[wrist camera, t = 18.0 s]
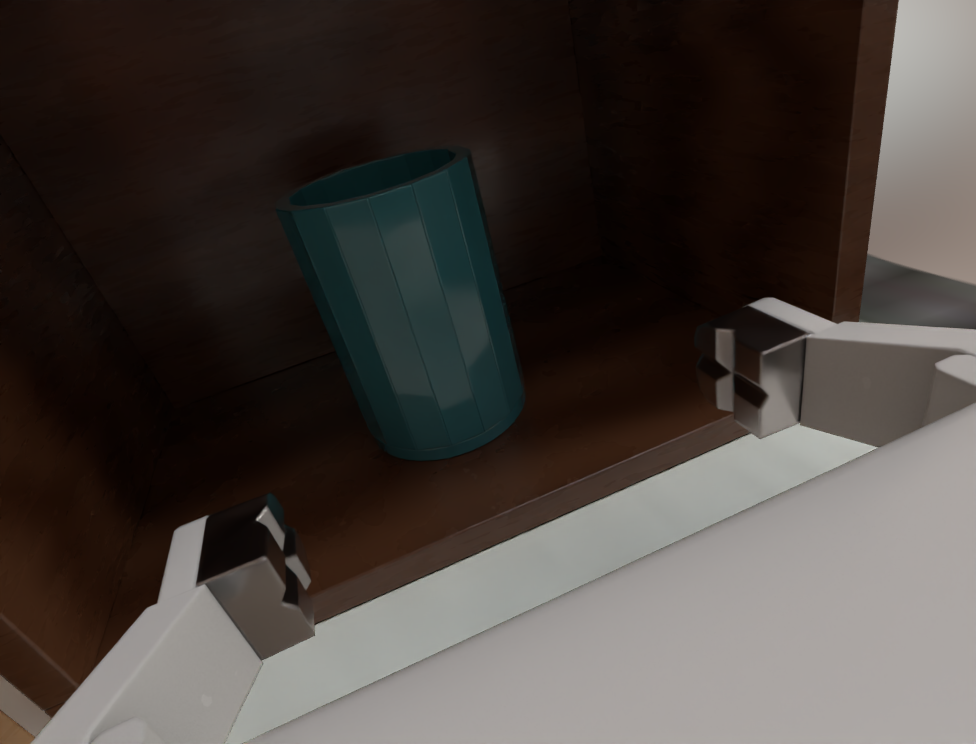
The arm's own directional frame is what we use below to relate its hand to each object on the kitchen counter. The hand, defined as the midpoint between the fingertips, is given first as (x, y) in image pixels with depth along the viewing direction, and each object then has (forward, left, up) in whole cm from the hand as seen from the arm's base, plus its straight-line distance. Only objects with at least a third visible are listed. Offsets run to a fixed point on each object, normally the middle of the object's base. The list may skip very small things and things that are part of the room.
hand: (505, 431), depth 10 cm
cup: (+12, 0, -7) cm, 14 cm away
